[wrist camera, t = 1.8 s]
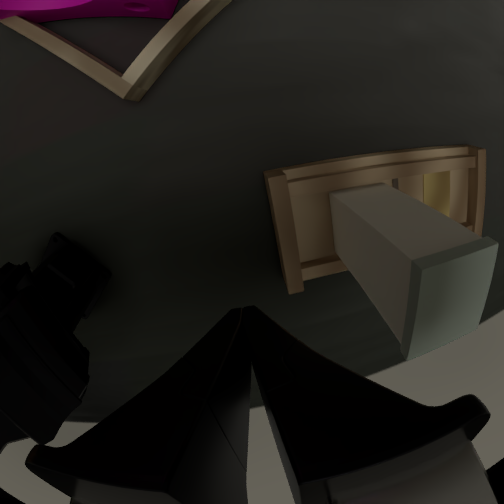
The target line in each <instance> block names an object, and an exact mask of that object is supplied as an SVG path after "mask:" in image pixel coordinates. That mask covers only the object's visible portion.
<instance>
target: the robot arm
mask: <svg viewBox="0 0 504 504" xmlns="http://www.w3.org/2000/svg"><path fill="white" fill-rule="evenodd" d="M55 237H56V238H57V239H58V241H57V240H56V239H55ZM104 274H106V275H107V276H104ZM110 277H111V273H110V271H109V270H108V269H106V268H105V267H103V266H102V265H101V264H99V263H98V262H96V261H95V260H94V259H93V258H91V257H90V256H89V255H87V254H86V253H85V252H83V251H82V250H81V249H79V248H78V247H77V246H75V245H74V244H73V243H71V242H70V241H68V240H67V239H66V238H64V237H63V236H62V235H61V234H59V233H54V234H53V235H52V236H51V238H50V241H49V243H48V246H47V249H46V251H45V254H44V257H43V260H42V262H41V264H40V265H39V266H38V267H37V268H36V269H35V270H34V271H33V272H31V271H30V267H29V265H28V263H27V262H25V263H24V264H22V265H20V264H19V265H13V264H12V263H10V262H8V263H6V264H5V265H4V266H3V267H1V268H0V454H1V452H2V451H3V449H4V448H5V447H6V445H7V444H9V443H12V442H16V441H20V440H24V439H28V438H31V439H33V440H34V441H35V442H37V443H38V445H35V446H34V447H33V448H32V450H31V451H30V453H29V454H28V456H27V458H26V461H25V465H26V467H27V468H28V469H29V470H30V471H31V472H33V473H34V474H35V475H37V476H38V477H40V478H41V479H43V480H44V481H45V482H47V483H49V484H50V485H52V486H53V487H55V488H56V489H58V490H60V491H61V492H63V493H64V494H66V495H68V496H70V497H71V501H70V504H248V499H247V488H246V472H247V452H248V430H249V411H250V390H251V361H252V365H253V369H254V373H255V376H256V379H257V383H258V386H259V390H260V393H261V396H262V400H263V403H264V406H265V410H266V413H267V416H268V420H269V423H270V426H271V429H272V432H273V435H274V439H275V442H276V445H277V448H278V452H279V454H280V458H281V461H282V464H283V467H284V470H285V473H286V476H287V479H288V482H289V486H290V489H291V492H292V495H293V498H294V501H295V504H504V458H503V459H501V460H500V461H499V462H497V463H496V464H495V465H493V466H492V467H491V468H489V469H487V470H485V468H484V466H483V464H482V462H481V460H480V458H479V456H478V454H477V452H476V450H475V448H474V446H473V444H472V442H471V441H472V440H473V439H474V438H475V436H476V435H477V434H478V433H479V432H480V431H481V430H482V428H483V427H484V426H485V425H486V423H487V422H488V420H489V418H490V413H489V411H488V409H487V408H486V406H485V405H484V404H483V403H482V402H481V400H480V399H478V398H477V397H476V396H475V395H472V394H468V395H464V396H462V397H459V398H457V399H455V400H453V401H451V402H449V403H447V404H445V405H442V406H435V407H434V406H426V405H423V404H420V403H418V402H416V401H414V400H412V399H409V398H407V397H405V396H403V395H401V394H399V393H396V392H394V391H392V390H390V389H388V388H386V387H384V386H381V385H380V384H377V383H376V382H373V381H371V380H369V379H367V378H365V377H363V376H361V375H359V374H357V373H355V372H353V371H351V370H349V369H347V368H345V367H343V366H342V365H340V364H338V363H336V362H334V361H332V360H330V359H328V358H326V357H324V356H323V355H321V354H319V353H317V352H316V351H314V350H313V349H311V348H310V347H308V346H307V345H305V344H304V343H303V342H301V341H300V340H298V339H297V338H296V337H294V336H293V335H292V334H290V333H289V332H288V331H286V330H285V329H284V328H283V327H281V326H280V325H279V324H277V323H276V322H275V321H274V320H272V319H271V318H270V317H268V316H267V315H266V314H265V313H263V312H262V311H261V310H260V309H258V308H257V307H256V306H254V305H253V306H247V307H244V308H243V309H242V308H235V309H231V310H230V311H229V312H228V313H227V314H226V315H225V316H224V317H223V318H222V319H221V320H220V321H219V322H218V323H217V324H216V325H215V326H214V327H213V328H212V329H211V330H210V331H209V332H208V333H207V334H206V335H205V336H204V337H203V338H202V339H201V340H200V341H198V342H197V343H196V344H195V345H194V346H193V347H192V348H191V349H190V350H189V351H188V352H187V353H186V354H185V355H184V356H183V358H181V359H179V360H178V361H177V362H176V363H175V364H174V365H173V366H172V367H171V368H170V369H169V370H168V371H167V372H165V373H164V374H163V375H162V376H160V377H159V378H158V379H157V380H156V381H154V382H153V383H152V384H150V385H149V386H148V387H146V388H145V389H144V390H143V391H141V392H140V393H139V394H137V395H136V396H135V397H133V398H132V399H131V400H129V401H128V402H127V403H125V404H124V405H123V406H121V407H120V408H119V409H117V410H116V411H114V412H113V413H112V414H110V415H109V416H108V417H106V418H105V419H104V420H102V421H101V422H99V423H98V424H97V425H95V426H94V427H93V428H91V429H90V430H88V431H87V432H85V433H84V434H83V435H81V436H80V437H78V438H77V439H76V440H74V441H73V442H71V443H70V444H68V445H66V446H63V447H57V448H56V447H50V446H46V445H45V444H47V443H48V442H50V441H52V440H53V439H54V438H55V436H56V434H57V432H58V430H59V428H60V427H61V425H62V423H63V422H64V420H65V419H66V418H67V417H68V416H69V414H70V413H71V412H72V411H73V410H74V409H75V408H77V407H78V406H79V405H80V404H81V403H82V400H81V399H82V398H83V396H84V394H85V392H86V389H87V385H88V382H89V377H90V376H89V375H88V366H89V354H90V352H89V351H88V350H87V348H86V347H83V345H82V344H81V343H80V342H79V340H78V339H77V338H76V337H75V335H74V334H73V331H74V330H75V328H76V326H77V324H78V323H79V321H80V319H81V318H83V319H87V318H88V316H89V314H90V312H91V311H92V309H93V307H94V305H95V303H96V301H97V300H98V298H99V296H100V294H101V293H102V291H103V289H104V287H105V286H106V284H107V282H108V280H109V279H110ZM84 313H85V314H84ZM0 504H25V503H23V502H22V501H20V500H18V499H17V498H15V497H13V496H12V495H10V494H9V493H7V492H6V491H4V490H3V489H2V488H0Z"/></svg>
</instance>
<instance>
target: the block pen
mask: <svg viewBox="0 0 504 504" xmlns="http://www.w3.org/2000/svg"><path fill="white" fill-rule="evenodd" d="M231 1H232V0H190V1H189V2H188V3H187V4H186V5H185V6H184V7H183V8H182V9H181V10H180V11H179V12H178V13H177V14H176V15H175V16H174V17H173V18H172V19H171V20H170V21H169V22H168V23H167V24H166V25H165V26H164V27H163V28H162V29H161V30H160V31H159V32H158V33H157V35H156V36H155V37H154V38H153V39H152V40H151V41H150V42H149V44H148V45H147V46H146V47H145V48H144V49H143V51H142V52H141V53H140V54H139V55H138V57H137V58H136V59H135V60H134V62H133V63H132V64H131V65H130V67H129V68H128V69H127V71H126V72H125V73H124V74H122V73H121V72H119V71H117V70H116V69H114V68H113V67H111V66H110V65H108V64H106V63H105V62H103V61H102V60H100V59H99V58H97V57H95V56H94V55H92V54H90V53H89V52H87V51H85V50H84V49H82V48H80V47H79V46H77V45H75V44H74V43H72V42H70V41H69V40H67V39H65V38H63V37H62V36H60V35H58V34H56V33H54V32H53V31H51V30H49V29H47V28H45V27H43V26H42V25H40V24H38V23H35V22H32V21H30V20H27V19H25V18H24V17H19V16H12V17H8V18H5V19H1V20H0V22H1V23H3V24H5V25H6V26H8V27H10V28H12V29H13V30H15V31H17V32H19V33H20V34H22V35H24V36H26V37H27V38H29V39H31V40H32V41H34V42H36V43H37V44H39V45H41V46H42V47H44V48H46V49H47V50H49V51H51V52H52V53H54V54H55V55H57V56H59V57H60V58H62V59H63V60H65V61H67V62H68V63H70V64H71V65H73V66H74V67H76V68H78V69H79V70H81V71H82V72H84V73H85V74H87V75H88V76H90V77H91V78H93V79H94V80H96V81H97V82H99V83H100V84H102V85H103V86H105V87H106V88H108V89H109V90H111V91H112V92H114V93H115V94H117V95H118V96H120V97H121V98H122V99H127V100H132V101H137V102H139V101H140V100H141V99H142V97H143V96H144V95H145V94H146V92H147V91H148V90H149V88H150V87H151V86H152V84H153V83H154V82H155V81H156V79H157V78H158V77H159V76H160V75H161V73H162V72H163V71H164V70H165V69H166V67H167V66H168V65H169V64H170V63H171V62H172V60H173V59H174V58H175V57H176V56H177V55H178V54H179V52H180V51H181V50H182V49H183V48H184V47H185V46H186V45H187V44H188V43H189V42H190V41H191V40H192V38H193V37H194V36H195V35H196V34H197V33H198V32H199V31H200V30H201V29H202V28H203V27H204V26H205V25H206V24H207V23H208V22H209V21H210V20H211V19H213V18H214V17H215V16H216V15H217V14H218V13H219V12H220V11H221V10H222V9H223V8H224V7H226V6H227V5H228V4H229V3H230V2H231Z"/></svg>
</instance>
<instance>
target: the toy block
mask: <svg viewBox="0 0 504 504" xmlns="http://www.w3.org/2000/svg"><path fill="white" fill-rule="evenodd" d="M177 2H178V0H0V20H1V19H5V18H8V17H12V16H19V17H24V18H25V19H27V20H30V21H32V22H35V23H41V22H48V21H55V20H63V19H73V18H85V17H109V16H127V17H151V18H164V19H171V18H172V15H173V12H174V10H175V7H176V5H177Z"/></svg>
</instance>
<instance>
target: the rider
mask: <svg viewBox="0 0 504 504" xmlns="http://www.w3.org/2000/svg"><path fill="white" fill-rule="evenodd" d="M329 198H330V207H331V216H332V225H333V236H334V247H335V252H336V254H337V255H338V256H339V257H340V259H341V260H342V261H343V263H344V264H345V265H346V267H347V268H348V270H349V271H350V272H351V274H352V275H353V276H354V278H355V279H356V280H357V282H358V283H359V284H360V286H361V287H362V289H363V290H364V291H365V293H366V294H367V296H368V297H369V298H370V300H371V301H372V303H373V304H374V306H375V307H376V308H377V310H378V311H379V313H380V314H381V316H382V317H383V318H384V320H385V321H386V323H387V324H388V326H389V327H390V329H391V330H392V332H393V333H394V335H395V336H396V338H397V339H398V341H399V342H400V344H401V347H400V351H401V353H402V354H403V356H404V358H405V359H406V361H409V360H411V359H414V358H416V357H418V356H421V355H423V354H426V353H428V352H430V351H432V350H435V349H437V348H439V347H441V346H444V345H446V344H448V343H450V342H452V341H454V340H456V339H458V338H460V337H462V336H464V335H466V334H468V333H470V332H472V331H474V330H476V329H477V327H478V324H479V321H480V318H481V315H482V312H483V308H484V305H485V302H486V298H487V294H488V291H489V287H490V283H491V279H492V274H493V270H494V265H495V260H496V255H497V250H498V244H499V243H497V242H496V241H494V240H493V239H491V238H490V237H488V236H487V237H484V238H482V237H480V236H479V235H477V234H476V233H474V232H472V231H471V230H469V229H468V228H466V227H464V226H463V225H461V224H459V223H458V222H456V221H454V220H453V219H451V218H449V217H447V216H446V215H444V214H442V213H440V212H439V211H437V210H435V209H433V208H432V207H430V206H428V205H426V204H424V203H422V202H420V201H419V200H417V199H415V198H413V197H411V196H409V195H407V194H405V193H403V192H401V191H399V190H397V189H395V188H393V187H391V186H389V185H387V184H385V183H377V184H371V185H365V186H360V187H354V188H348V189H343V190H338V191H332V192H329Z"/></svg>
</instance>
